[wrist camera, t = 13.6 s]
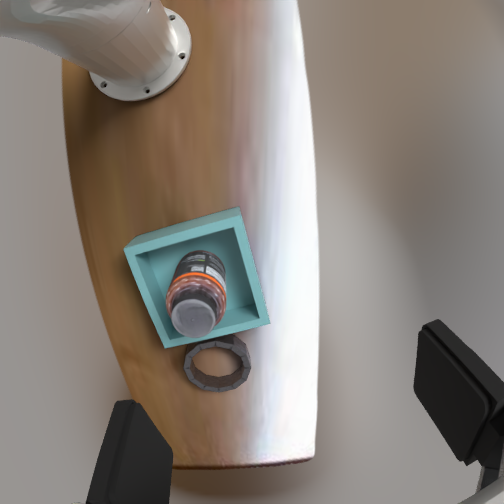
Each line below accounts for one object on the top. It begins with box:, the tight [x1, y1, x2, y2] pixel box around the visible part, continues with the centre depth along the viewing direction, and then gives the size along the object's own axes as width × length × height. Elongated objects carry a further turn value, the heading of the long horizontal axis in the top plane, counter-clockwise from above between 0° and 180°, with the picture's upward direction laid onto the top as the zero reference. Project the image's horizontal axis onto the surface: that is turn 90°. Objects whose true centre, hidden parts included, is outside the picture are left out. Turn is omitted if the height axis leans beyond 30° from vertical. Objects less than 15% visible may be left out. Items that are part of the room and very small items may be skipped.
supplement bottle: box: [166, 250, 226, 338], centre depth 32 cm, size 6×6×11 cm
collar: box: [184, 334, 251, 392], centre depth 42 cm, size 9×9×2 cm
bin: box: [124, 207, 270, 348], centre depth 36 cm, size 13×13×5 cm
